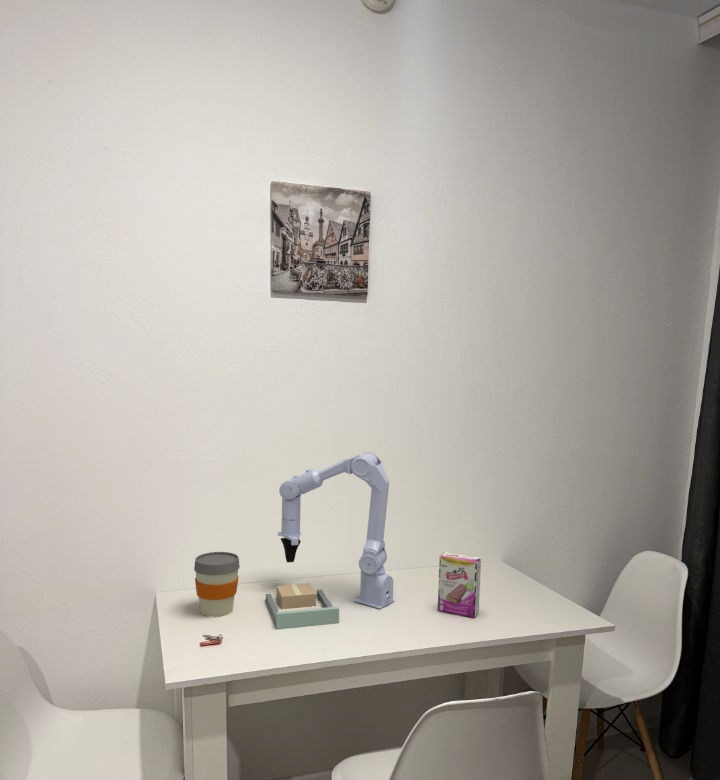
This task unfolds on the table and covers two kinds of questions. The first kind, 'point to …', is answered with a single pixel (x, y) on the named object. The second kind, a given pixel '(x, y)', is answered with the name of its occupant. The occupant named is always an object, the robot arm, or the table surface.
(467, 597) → the candy bar box
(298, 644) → the table surface
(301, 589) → the carton
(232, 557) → the reusable coffee cup
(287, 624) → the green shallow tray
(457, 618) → the table surface
